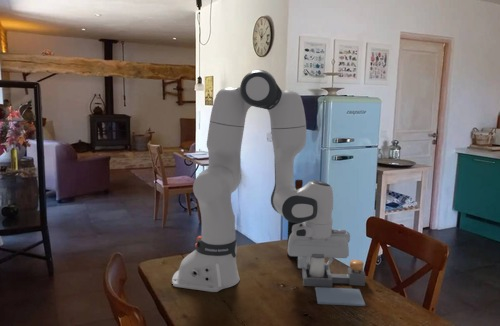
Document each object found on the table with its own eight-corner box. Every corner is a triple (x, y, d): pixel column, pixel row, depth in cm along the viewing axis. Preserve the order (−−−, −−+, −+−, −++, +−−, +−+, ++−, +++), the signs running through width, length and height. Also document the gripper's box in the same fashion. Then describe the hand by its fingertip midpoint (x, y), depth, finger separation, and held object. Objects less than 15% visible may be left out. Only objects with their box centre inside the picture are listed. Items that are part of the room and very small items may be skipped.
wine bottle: (296, 250, 168) (298, 177, 164) (310, 256, 163) (313, 180, 158) (283, 254, 164) (284, 179, 159) (296, 260, 158) (299, 183, 153)
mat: (317, 303, 125) (317, 301, 125) (315, 288, 135) (315, 287, 134) (365, 306, 124) (365, 304, 124) (359, 290, 133) (359, 289, 133)
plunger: (350, 283, 138) (351, 264, 137) (348, 277, 142) (349, 259, 141) (363, 283, 137) (364, 265, 136) (361, 278, 142) (362, 259, 141)
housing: (303, 285, 137) (303, 274, 136) (302, 274, 146) (302, 263, 145) (366, 288, 135) (366, 277, 134) (360, 276, 144) (361, 265, 144)
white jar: (309, 283, 138) (310, 254, 137) (308, 276, 144) (309, 248, 142) (325, 284, 138) (326, 255, 136) (323, 277, 143) (325, 249, 142)
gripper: (348, 227, 140) (347, 266, 143) (287, 225, 142) (286, 263, 144) (351, 233, 134) (349, 274, 136) (288, 231, 136) (287, 271, 138)
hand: (317, 268), depth 140 cm, fingers closed on white jar, 5 cm apart
